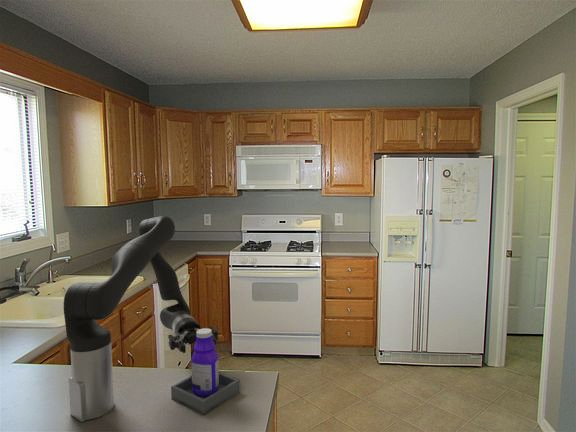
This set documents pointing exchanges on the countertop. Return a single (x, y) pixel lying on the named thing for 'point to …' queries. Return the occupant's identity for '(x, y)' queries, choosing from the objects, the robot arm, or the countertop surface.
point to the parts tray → (200, 403)
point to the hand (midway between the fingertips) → (199, 346)
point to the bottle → (204, 365)
